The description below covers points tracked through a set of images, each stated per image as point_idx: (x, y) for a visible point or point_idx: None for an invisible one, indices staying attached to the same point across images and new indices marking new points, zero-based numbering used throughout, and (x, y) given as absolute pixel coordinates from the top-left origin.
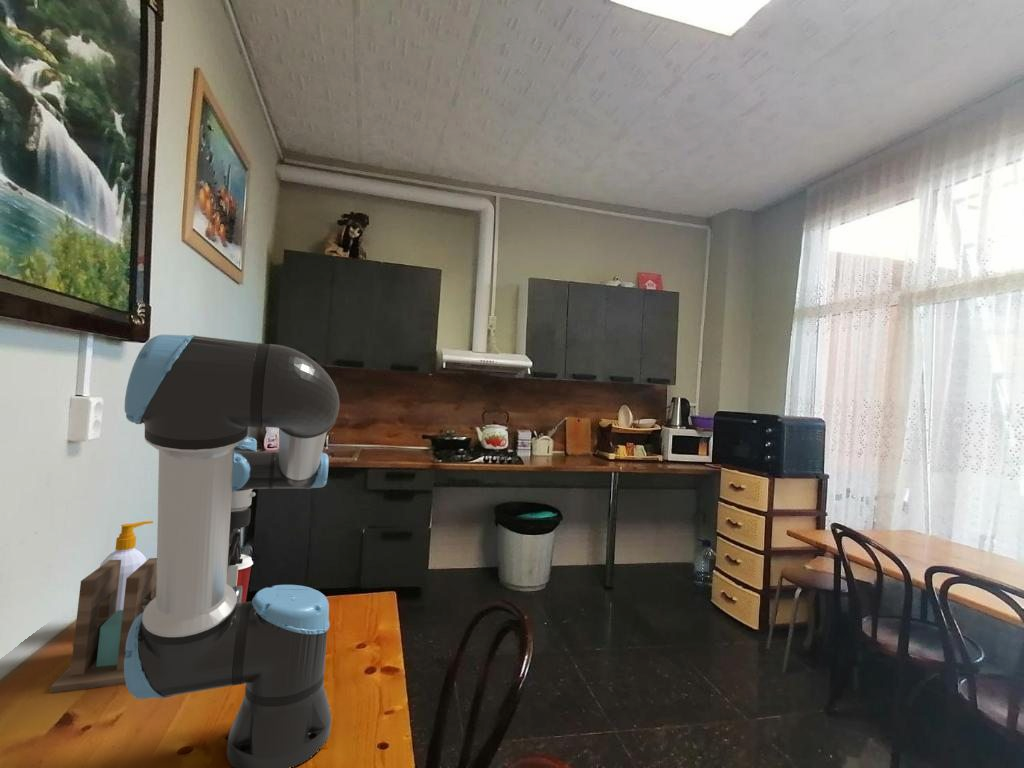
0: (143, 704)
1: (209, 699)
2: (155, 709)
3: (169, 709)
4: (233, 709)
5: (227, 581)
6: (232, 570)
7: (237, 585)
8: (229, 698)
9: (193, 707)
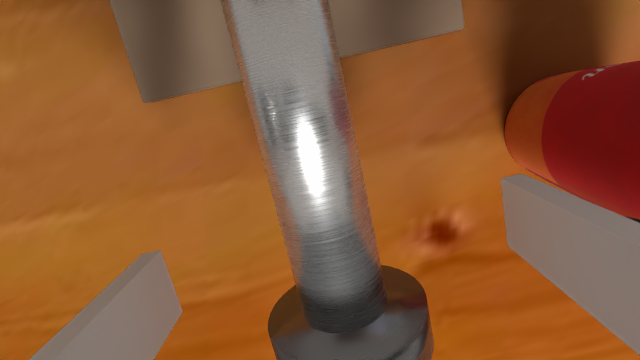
0: (28, 116)
1: (73, 273)
2: (12, 161)
3: (18, 197)
4: (42, 342)
5: (557, 233)
6: (628, 309)
7: (636, 217)
8: None
9: (35, 251)
